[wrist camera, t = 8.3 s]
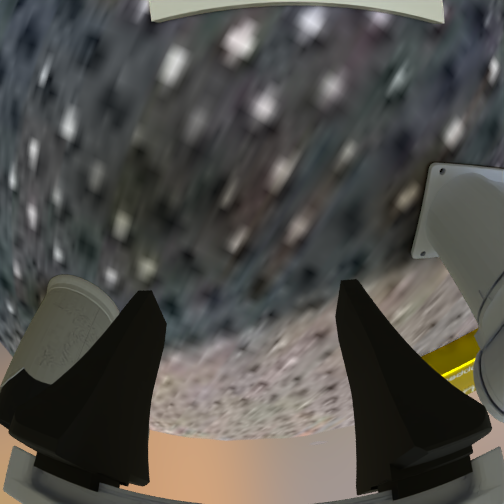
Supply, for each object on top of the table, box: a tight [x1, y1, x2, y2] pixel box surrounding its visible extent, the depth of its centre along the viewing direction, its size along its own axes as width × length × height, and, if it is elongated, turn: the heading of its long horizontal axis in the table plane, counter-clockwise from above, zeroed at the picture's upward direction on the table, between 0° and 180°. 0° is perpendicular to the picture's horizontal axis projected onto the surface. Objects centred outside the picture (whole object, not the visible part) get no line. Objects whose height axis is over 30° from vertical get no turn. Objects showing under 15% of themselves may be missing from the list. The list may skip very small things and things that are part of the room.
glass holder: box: [0, 275, 149, 438], centre depth 21 cm, size 9×14×15 cm, turn 57°
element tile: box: [421, 328, 480, 395], centre depth 32 cm, size 15×15×5 cm
